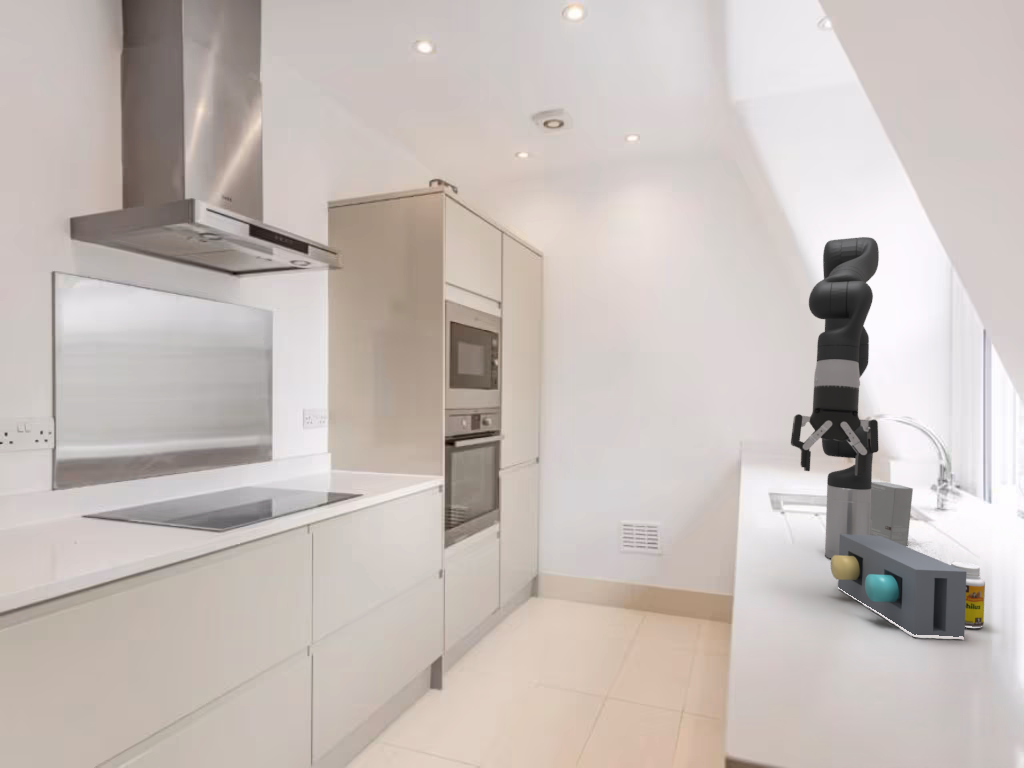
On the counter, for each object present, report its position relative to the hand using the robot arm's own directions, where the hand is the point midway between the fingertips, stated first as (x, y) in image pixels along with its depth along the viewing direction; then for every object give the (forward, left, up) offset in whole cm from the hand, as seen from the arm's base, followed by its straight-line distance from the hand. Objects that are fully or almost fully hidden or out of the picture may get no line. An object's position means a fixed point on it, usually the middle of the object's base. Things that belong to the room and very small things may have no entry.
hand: (832, 473), depth 114 cm
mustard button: (-6, -1, -20) cm, 21 cm away
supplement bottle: (-13, +16, -24) cm, 32 cm away
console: (-8, +8, -24) cm, 27 cm away
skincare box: (-61, -24, -24) cm, 70 cm away
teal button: (0, +10, -20) cm, 23 cm away
